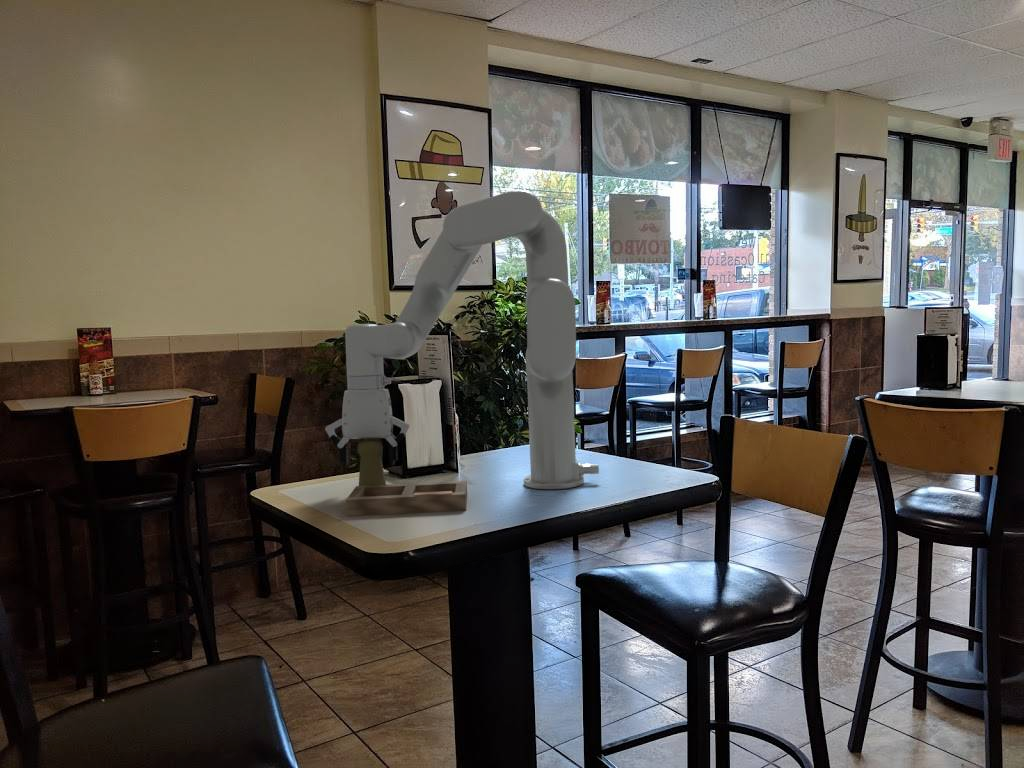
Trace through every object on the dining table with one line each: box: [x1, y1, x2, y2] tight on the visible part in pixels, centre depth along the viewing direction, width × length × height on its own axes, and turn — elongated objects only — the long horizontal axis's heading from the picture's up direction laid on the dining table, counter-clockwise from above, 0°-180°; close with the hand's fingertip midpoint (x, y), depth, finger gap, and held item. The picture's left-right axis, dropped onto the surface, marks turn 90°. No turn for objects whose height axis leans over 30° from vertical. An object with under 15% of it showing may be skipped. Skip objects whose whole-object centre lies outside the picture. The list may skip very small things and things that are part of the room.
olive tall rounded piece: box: [357, 438, 387, 486], centre depth 166 cm, size 6×6×11 cm
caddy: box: [345, 480, 468, 517], centre depth 153 cm, size 22×12×3 cm, turn 92°
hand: (369, 465), depth 166 cm, fingers open, 9 cm apart
